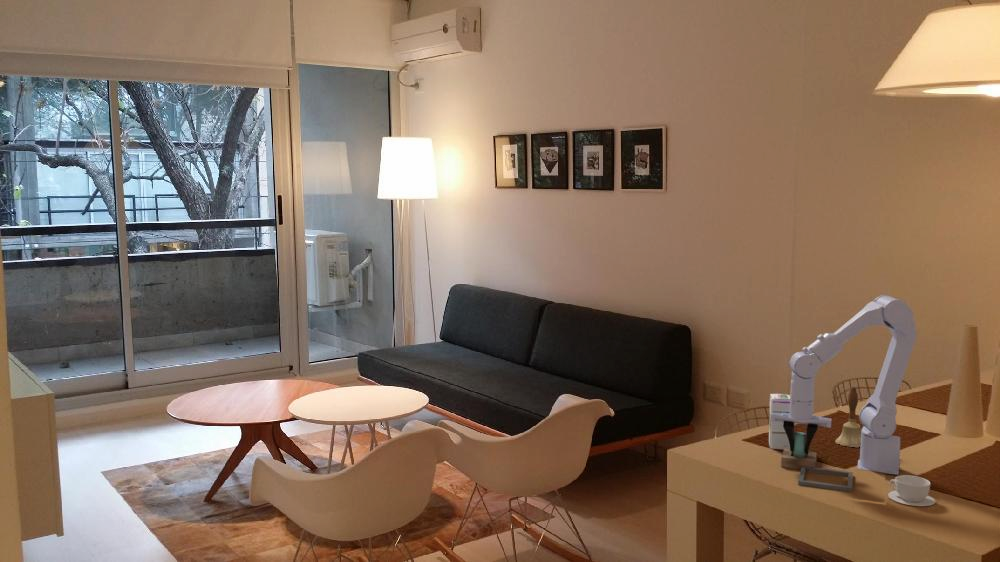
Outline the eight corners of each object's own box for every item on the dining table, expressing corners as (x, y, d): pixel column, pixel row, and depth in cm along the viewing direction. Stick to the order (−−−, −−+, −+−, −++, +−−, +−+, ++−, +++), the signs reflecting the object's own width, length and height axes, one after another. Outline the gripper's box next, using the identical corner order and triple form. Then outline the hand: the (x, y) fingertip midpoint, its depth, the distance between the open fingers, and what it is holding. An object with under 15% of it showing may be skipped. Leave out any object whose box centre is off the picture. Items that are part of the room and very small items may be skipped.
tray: (852, 477, 219) (853, 472, 219) (851, 493, 208) (852, 488, 208) (801, 471, 224) (801, 465, 224) (798, 486, 213) (798, 481, 213)
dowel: (805, 463, 229) (806, 432, 228) (804, 466, 226) (806, 436, 225) (793, 461, 230) (794, 431, 229) (792, 465, 227) (793, 434, 226)
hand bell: (829, 443, 247) (832, 387, 246) (844, 437, 253) (847, 382, 251) (858, 450, 241) (861, 392, 239) (872, 444, 247) (875, 388, 245)
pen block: (816, 463, 230) (816, 452, 230) (814, 472, 223) (814, 461, 222) (783, 459, 233) (784, 448, 233) (781, 468, 226) (781, 457, 225)
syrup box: (792, 451, 240) (794, 399, 238) (769, 450, 241) (771, 398, 239) (789, 445, 245) (791, 394, 243) (767, 444, 246) (769, 392, 245)
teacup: (941, 499, 205) (942, 480, 205) (927, 511, 198) (928, 491, 197) (896, 489, 212) (897, 470, 211) (881, 500, 205) (882, 480, 204)
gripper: (832, 398, 227) (830, 450, 228) (773, 393, 232) (771, 443, 234) (831, 405, 220) (829, 458, 222) (771, 399, 226) (768, 451, 227)
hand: (799, 451), depth 227 cm, fingers closed on dowel, 3 cm apart
